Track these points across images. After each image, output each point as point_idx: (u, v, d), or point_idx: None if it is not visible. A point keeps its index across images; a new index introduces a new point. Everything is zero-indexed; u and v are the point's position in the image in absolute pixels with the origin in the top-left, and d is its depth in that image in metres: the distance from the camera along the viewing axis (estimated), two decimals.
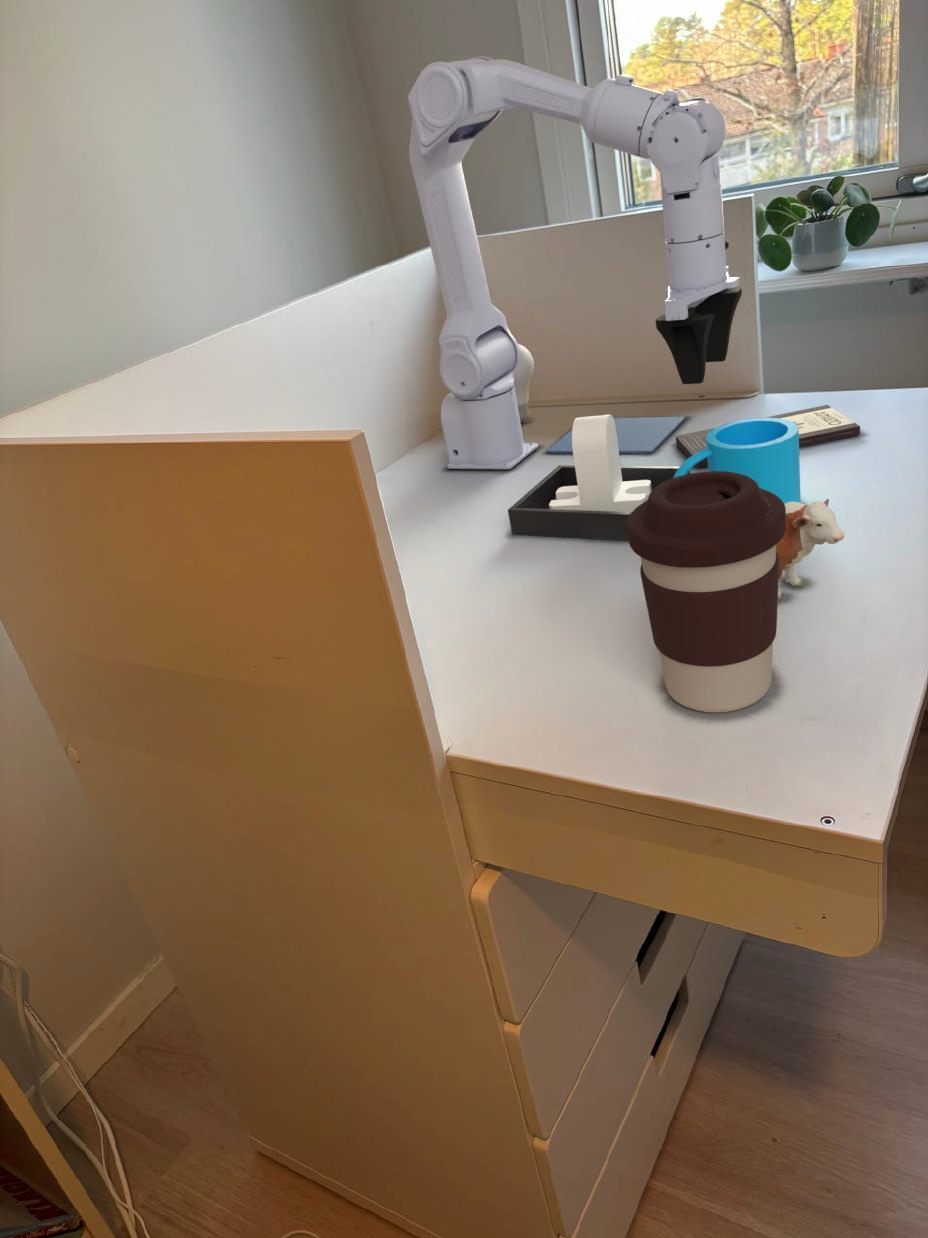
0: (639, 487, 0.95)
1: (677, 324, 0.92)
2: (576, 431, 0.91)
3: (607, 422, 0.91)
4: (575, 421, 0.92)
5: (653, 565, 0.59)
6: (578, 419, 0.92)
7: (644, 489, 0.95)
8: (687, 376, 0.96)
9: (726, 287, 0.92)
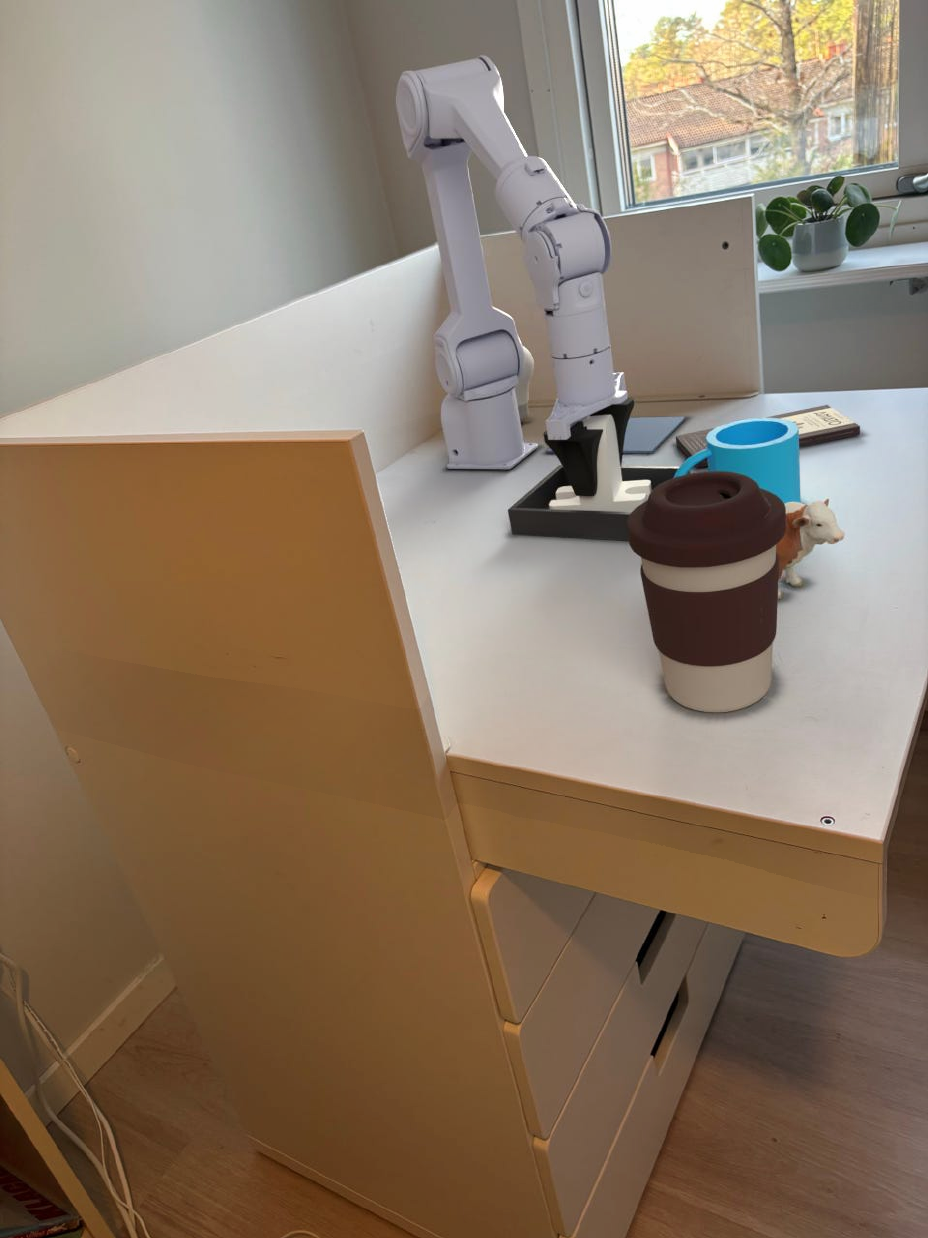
0: (639, 486, 0.95)
1: (564, 440, 0.88)
2: None
3: (607, 422, 0.91)
4: None
5: (653, 565, 0.59)
6: None
7: (644, 489, 0.95)
8: (579, 488, 0.93)
9: (613, 403, 0.89)
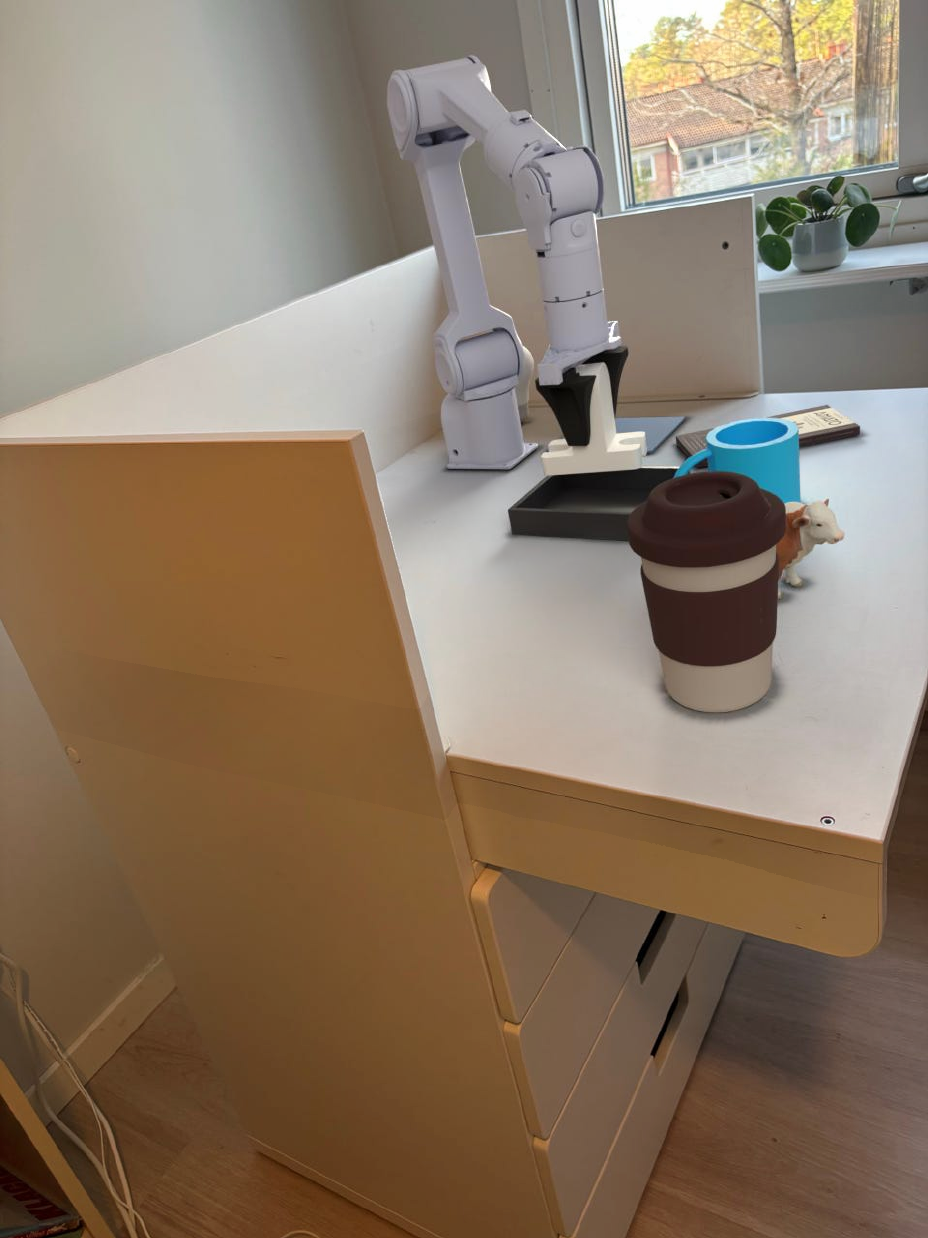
0: (633, 438, 0.93)
1: (556, 386, 0.86)
2: None
3: (600, 369, 0.89)
4: None
5: (653, 565, 0.59)
6: None
7: (639, 440, 0.93)
8: (572, 438, 0.90)
9: (606, 348, 0.87)
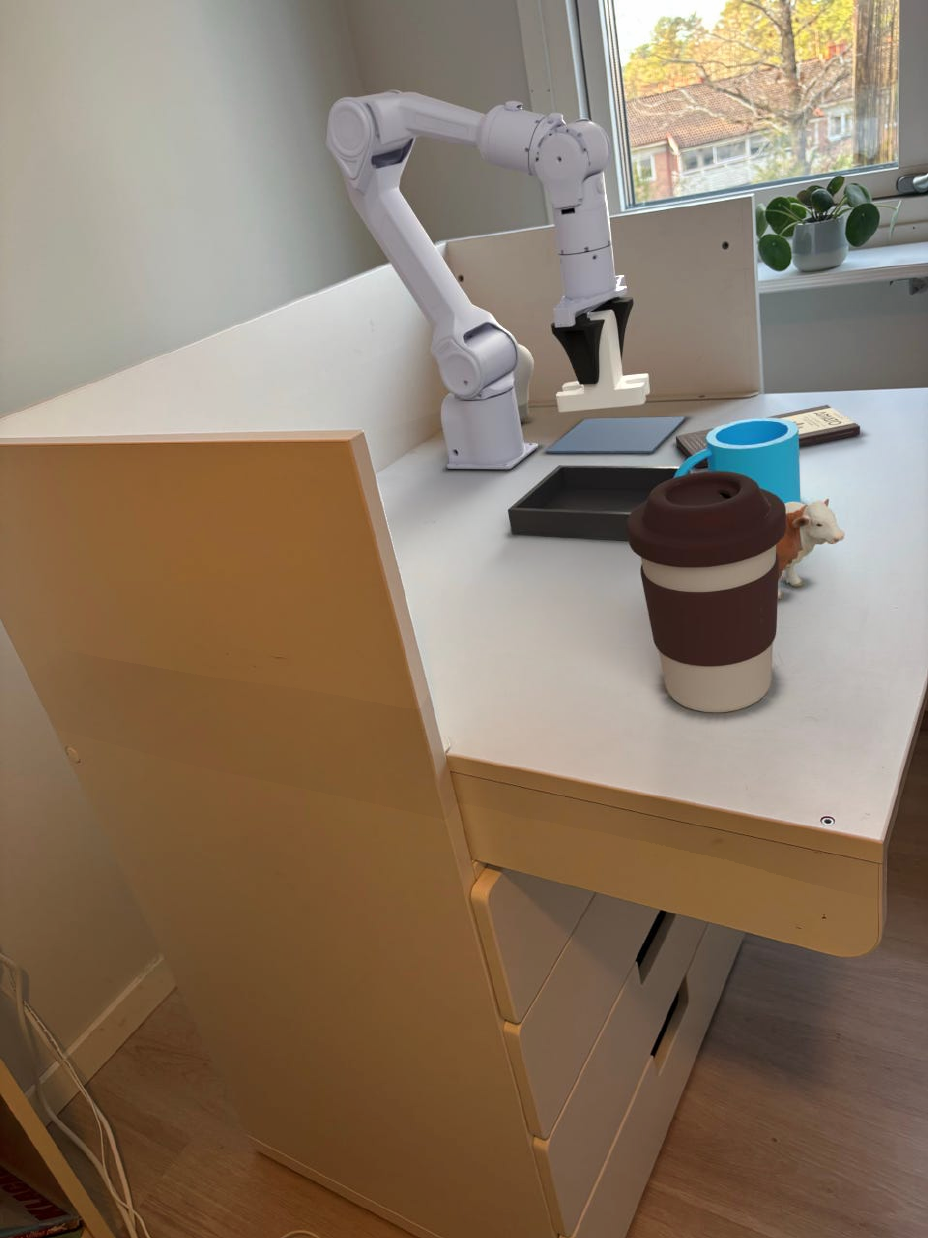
0: (638, 378, 1.05)
1: (569, 329, 0.98)
2: None
3: (609, 315, 1.01)
4: None
5: (653, 565, 0.59)
6: None
7: (642, 380, 1.05)
8: (583, 377, 1.02)
9: (614, 296, 0.99)
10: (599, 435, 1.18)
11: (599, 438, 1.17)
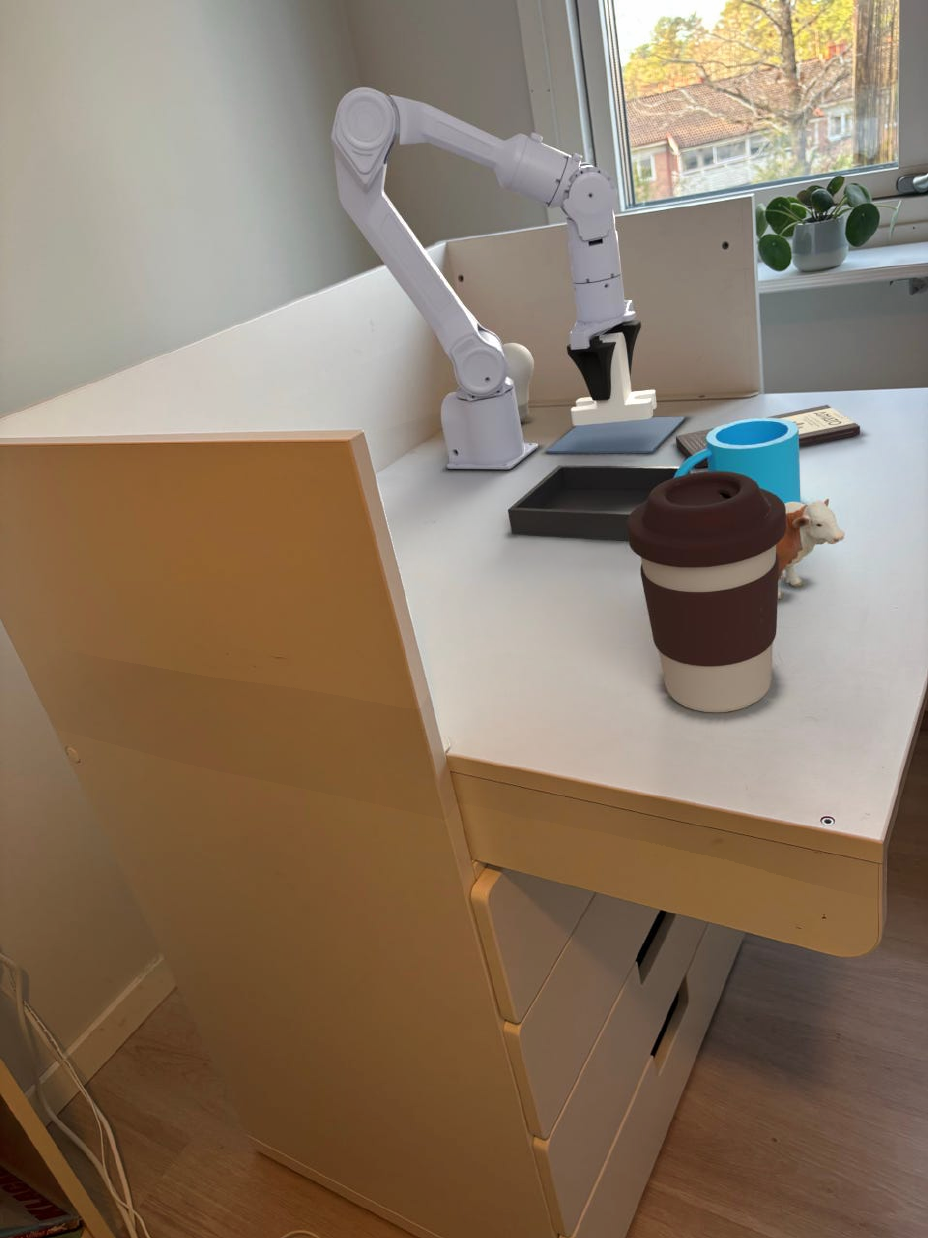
0: (645, 394, 1.15)
1: (584, 350, 1.08)
2: None
3: (619, 338, 1.10)
4: None
5: (653, 565, 0.59)
6: None
7: (650, 396, 1.15)
8: (596, 394, 1.12)
9: (624, 320, 1.08)
10: (599, 435, 1.18)
11: (599, 438, 1.17)
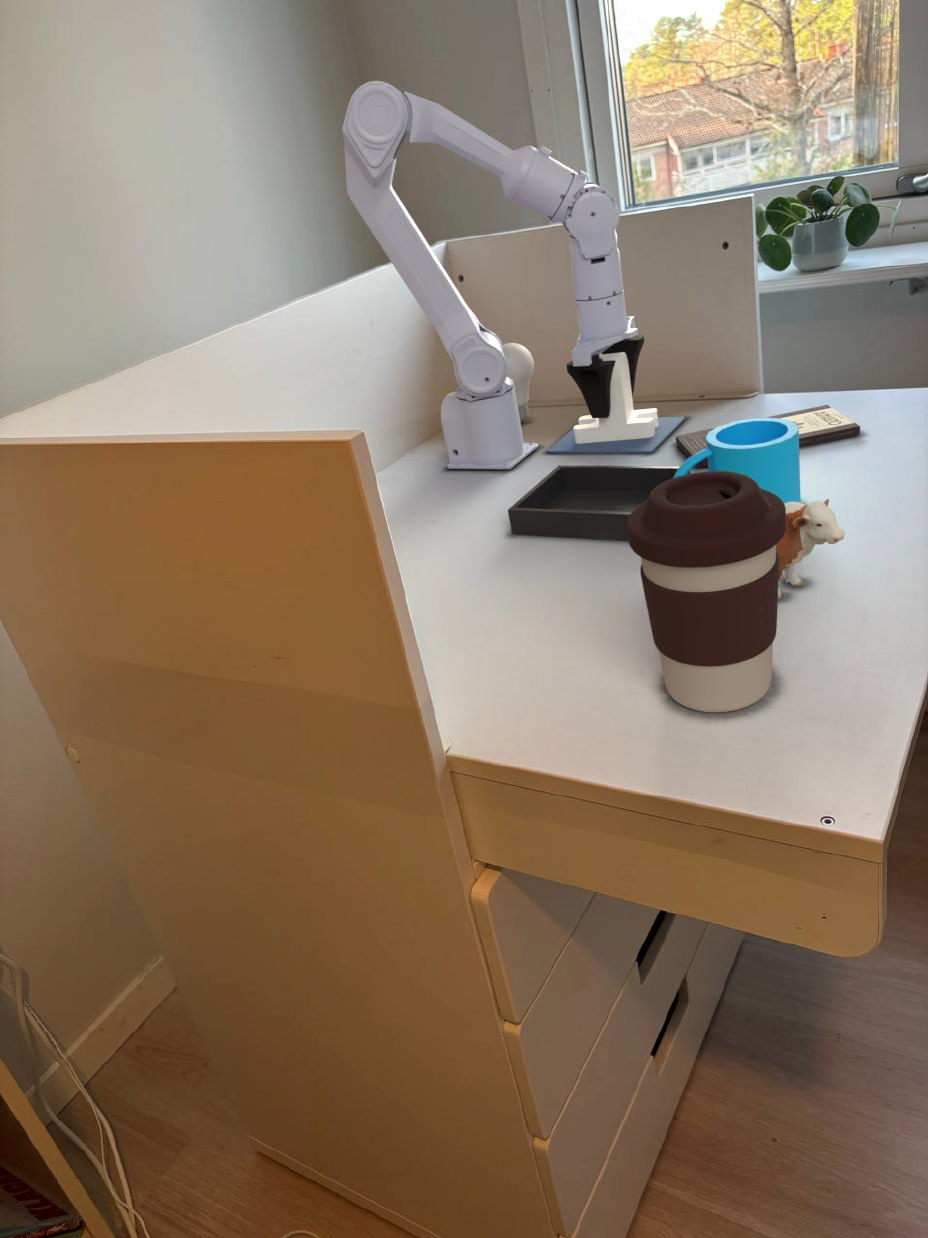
0: (647, 413, 1.16)
1: (583, 369, 1.08)
2: None
3: (622, 357, 1.11)
4: None
5: (653, 565, 0.59)
6: None
7: (652, 415, 1.16)
8: (595, 411, 1.12)
9: (626, 337, 1.09)
10: None
11: None
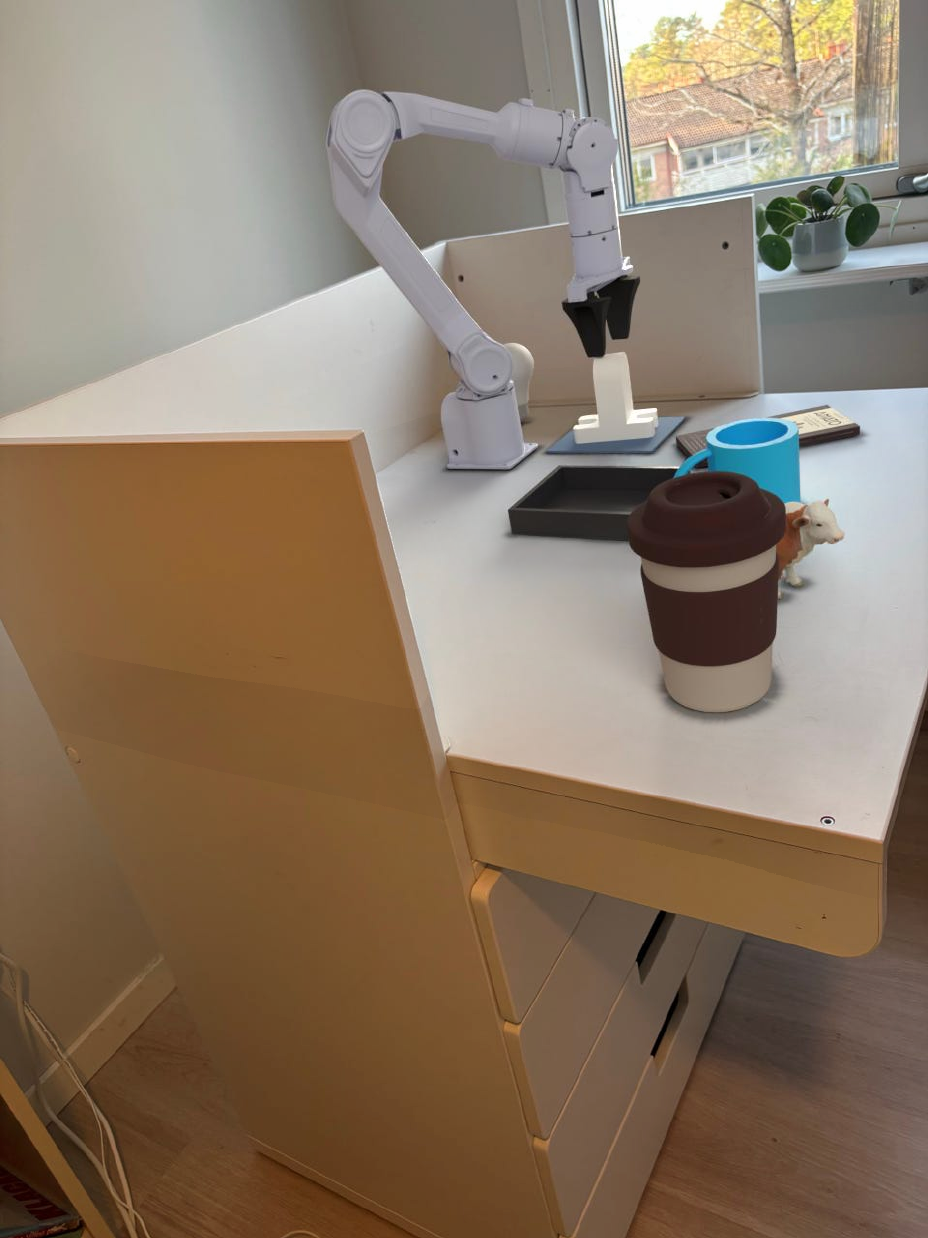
0: (647, 413, 1.16)
1: (579, 305, 1.08)
2: (596, 365, 1.12)
3: (622, 357, 1.11)
4: (595, 357, 1.13)
5: (653, 565, 0.59)
6: None
7: (652, 415, 1.16)
8: (591, 350, 1.12)
9: (621, 274, 1.09)
10: None
11: None
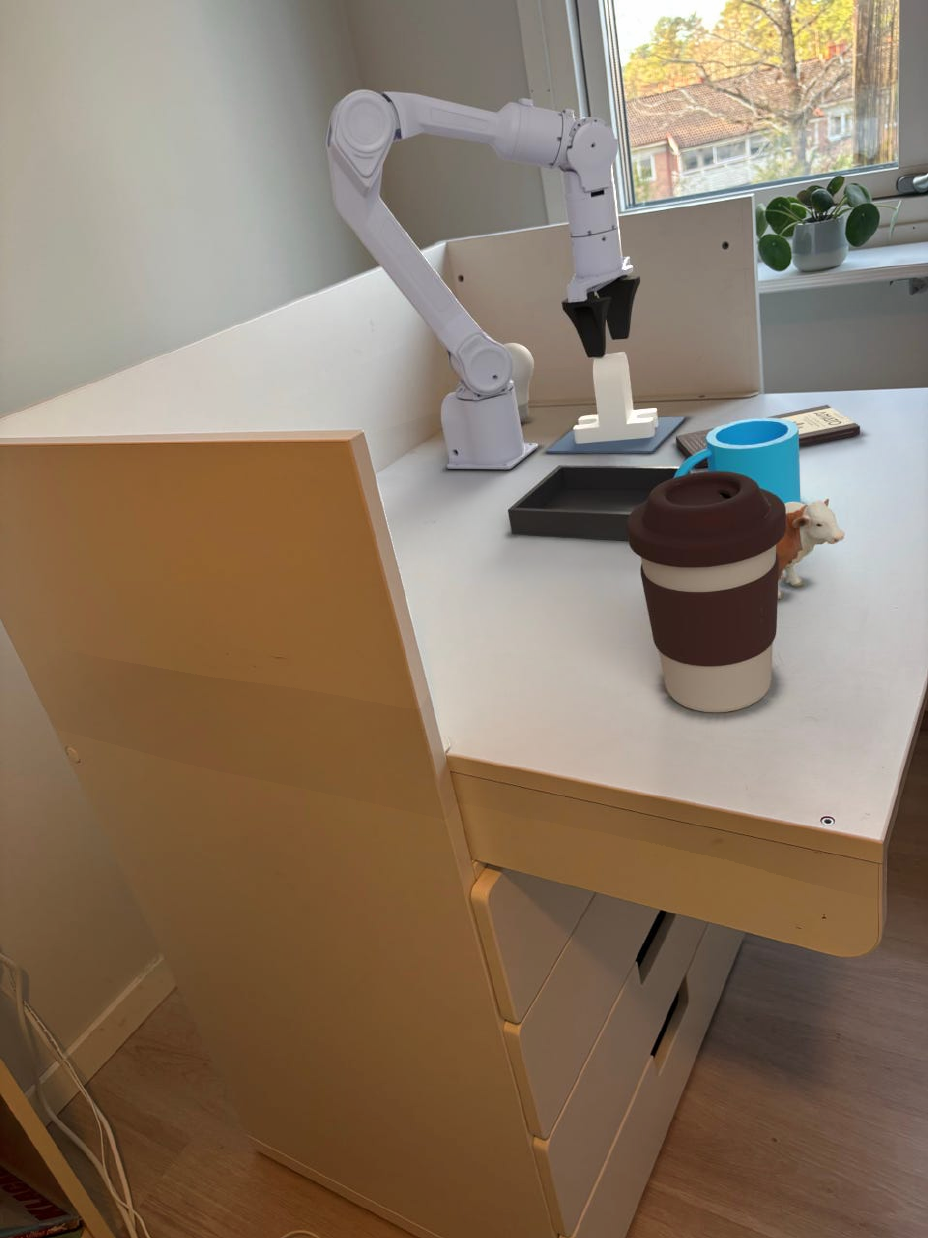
0: (647, 413, 1.16)
1: (579, 305, 1.08)
2: (596, 365, 1.12)
3: (621, 357, 1.11)
4: (595, 357, 1.13)
5: (653, 565, 0.59)
6: None
7: (652, 415, 1.16)
8: (591, 350, 1.12)
9: (621, 274, 1.09)
10: None
11: None
